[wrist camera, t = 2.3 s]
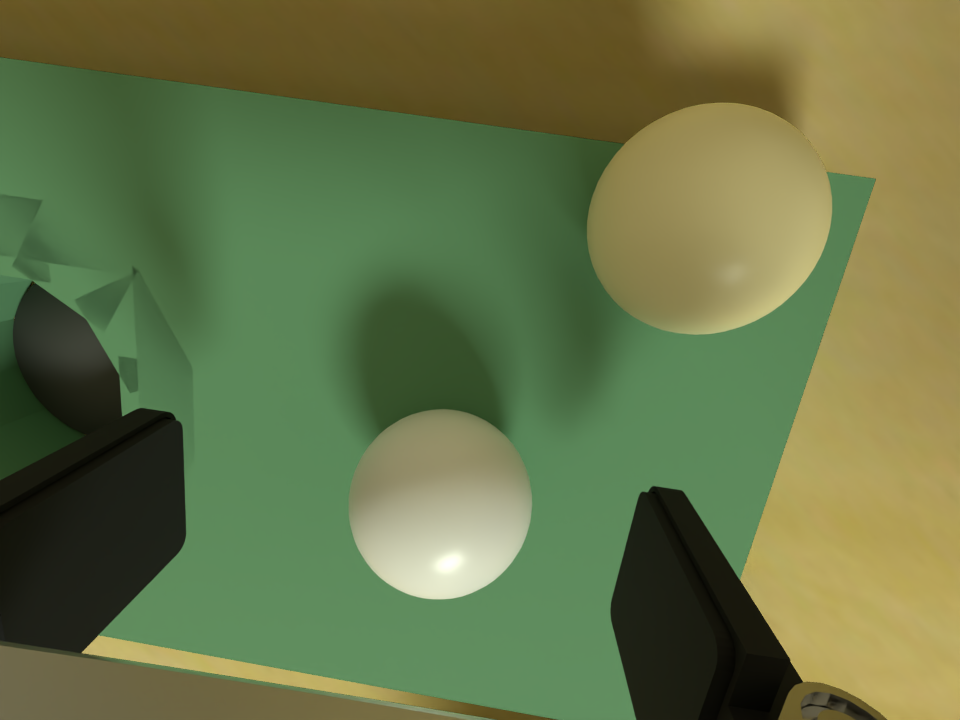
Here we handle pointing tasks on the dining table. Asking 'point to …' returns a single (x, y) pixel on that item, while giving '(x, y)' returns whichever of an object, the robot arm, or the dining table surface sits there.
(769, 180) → the yellow ball
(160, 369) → the putting mat
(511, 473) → the white ball
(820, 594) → the dining table surface
